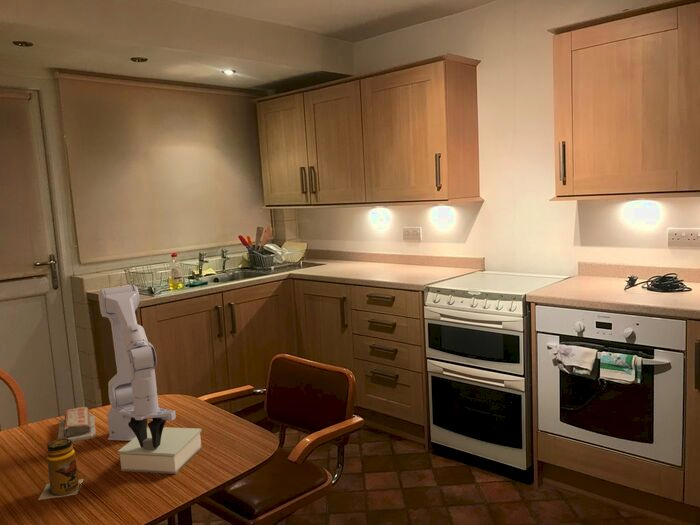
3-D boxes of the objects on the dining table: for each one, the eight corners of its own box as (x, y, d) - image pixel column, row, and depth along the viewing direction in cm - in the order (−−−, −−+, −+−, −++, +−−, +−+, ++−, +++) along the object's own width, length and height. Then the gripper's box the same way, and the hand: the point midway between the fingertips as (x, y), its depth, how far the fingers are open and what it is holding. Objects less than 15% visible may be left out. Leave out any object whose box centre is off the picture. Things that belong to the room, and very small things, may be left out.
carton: (121, 471, 146) (119, 454, 145) (151, 445, 159) (149, 430, 159) (175, 474, 143) (174, 456, 142) (201, 448, 156) (200, 432, 156)
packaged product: (58, 409, 179) (93, 403, 183) (59, 424, 179) (94, 417, 183) (55, 430, 162) (94, 423, 167) (57, 447, 163) (95, 438, 167)
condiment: (77, 494, 135) (71, 446, 134) (37, 501, 134) (31, 452, 132) (83, 479, 143) (78, 433, 141) (46, 485, 141) (40, 438, 139)
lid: (118, 453, 145) (116, 442, 145) (149, 428, 159) (148, 419, 159) (174, 456, 142) (173, 445, 141) (201, 430, 156) (200, 420, 155)
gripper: (109, 399, 141) (115, 451, 143) (163, 401, 138) (168, 454, 140) (126, 389, 148) (131, 439, 150) (177, 390, 145) (182, 441, 147)
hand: (150, 445), depth 145 cm, fingers closed on lid, 3 cm apart
